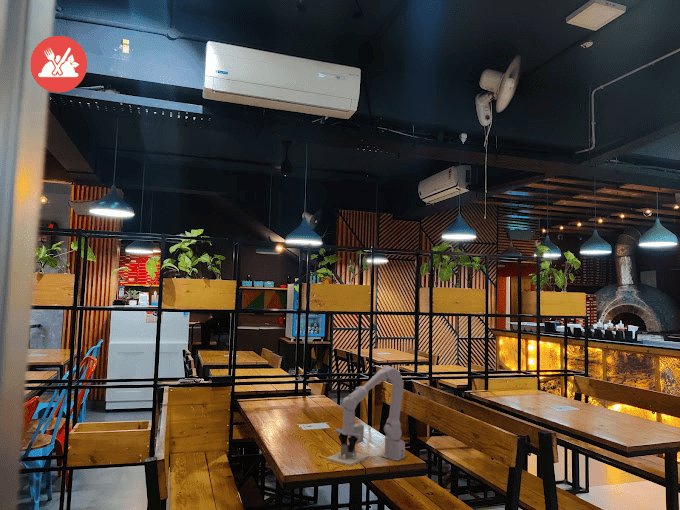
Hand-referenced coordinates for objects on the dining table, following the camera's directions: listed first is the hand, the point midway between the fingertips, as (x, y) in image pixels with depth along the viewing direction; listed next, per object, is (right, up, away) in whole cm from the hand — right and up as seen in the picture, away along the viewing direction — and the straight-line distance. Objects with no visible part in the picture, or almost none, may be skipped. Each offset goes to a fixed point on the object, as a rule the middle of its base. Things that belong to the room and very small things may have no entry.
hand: (347, 451), depth 242 cm
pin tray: (0, -4, 0) cm, 4 cm away
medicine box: (+5, -7, +29) cm, 30 cm away
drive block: (0, -1, 0) cm, 2 cm away
